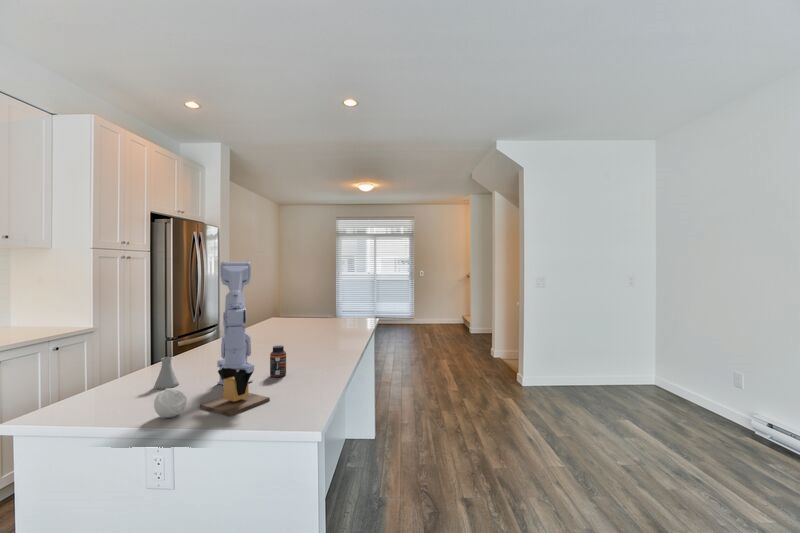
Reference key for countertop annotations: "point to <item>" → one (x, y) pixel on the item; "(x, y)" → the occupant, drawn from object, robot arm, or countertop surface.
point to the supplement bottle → (278, 362)
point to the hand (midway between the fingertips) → (235, 393)
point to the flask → (166, 375)
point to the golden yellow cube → (232, 390)
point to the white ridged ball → (169, 403)
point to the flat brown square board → (234, 404)
